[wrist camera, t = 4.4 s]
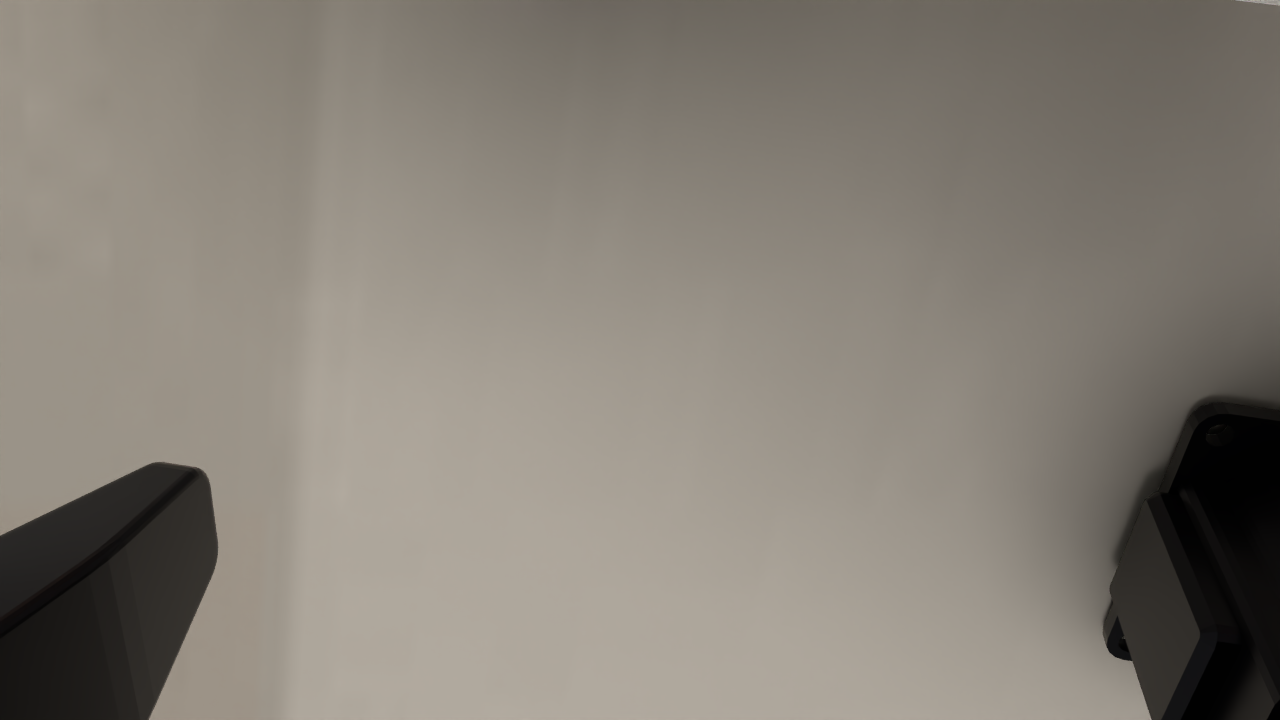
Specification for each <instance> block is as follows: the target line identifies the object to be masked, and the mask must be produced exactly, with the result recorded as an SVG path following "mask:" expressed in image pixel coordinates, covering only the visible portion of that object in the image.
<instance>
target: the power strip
mask: <svg viewBox="0 0 1280 720" xmlns="http://www.w3.org/2000/svg"><path fill="white" fill-rule="evenodd" d="M1237 1H1245V2H1254V3H1262V4H1270V5H1279V6H1280V0H1237Z"/></svg>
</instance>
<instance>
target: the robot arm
mask: <svg viewBox="0 0 1280 720" xmlns="http://www.w3.org/2000/svg"><path fill="white" fill-rule="evenodd" d="M1222 424H1225V425H1228V426H1227V427H1226V428H1225V430H1224V431H1222V432H1220V433H1218V434H1215V435H1208V434H1206V433H1207V432H1208V431H1209V429H1210V428H1212V427H1214V426H1216V425H1222ZM217 556H218V539H217V532H216V524H215V517H214V509H213V502H212V494H211V487H210V482H209V479H208V477H207V475H206V473H205V472H204V471H202V470H201V469H199V468H197V467H191V466H185V465H178V464H172V463H165V462H155V463H151V464H149V465H146V466H144V467H142V468H140V469H138V470H136V471H134V472H132V473H130V474H128V475H125V476H123V477H121V478H119V479H117V480H115V481H113V482H111V483H109V484H107V485H105V486H103V487H101V488H98V489H96V490H94V491H92V492H90V493H88V494H86V495H84V496H82V497H80V498H78V499H76V500H74V501H71V502H69V503H67V504H65V505H63V506H61V507H59V508H57V509H55V510H53V511H51V512H49V513H47V514H44V515H42V516H40V517H38V518H36V519H34V520H32V521H30V522H28V523H26V524H24V525H22V526H20V527H17V528H15V529H13V530H11V531H9V532H7V533H5V534H3V535H1V536H0V720H149V718H150V716H151V714H152V711H153V709H154V707H155V705H156V703H157V700H158V698H159V696H160V694H161V691H162V689H163V687H164V685H165V682H166V680H167V678H168V675H169V673H170V671H171V669H172V666H173V664H174V662H175V659H176V657H177V655H178V653H179V650H180V648H181V646H182V643H183V641H184V639H185V637H186V634H187V632H188V630H189V628H190V625H191V623H192V621H193V618H194V616H195V614H196V612H197V609H198V607H199V605H200V602H201V600H202V598H203V596H204V593H205V591H206V589H207V586H208V584H209V582H210V580H211V577H212V575H213V572H214V569H215V566H216V562H217ZM1110 594H1111V597H1112V600H1113V604H1112V607H1111V609H1110V612H1109V614H1108V617H1107V619H1106V622H1105V624H1104V626H1103V636H1104V639H1105V643H1106V646H1107V648H1108V650H1109V652H1110V653H1111V654H1112V655H1113V656H1115V657H1117V658H1120V659H1123V660H1128V661H1133V664H1134V667H1135V670H1136V673H1137V676H1138V679H1139V683H1140V686H1141V689H1142V692H1143V695H1144V698H1145V701H1146V704H1147V707H1148V710H1149V713H1150V716H1151V719H1152V720H1280V411H1279V410H1272V409H1265V408H1258V407H1251V406H1244V405H1237V404H1230V403H1210V404H1207V405H1204V406H1201V407H1200V408H1198V409H1197V410H1196V411H1194V412H1193V413H1192V415H1191V416H1190V417H1189V419H1188V421H1187V423H1186V425H1185V428H1184V430H1183V433H1182V435H1181V438H1180V440H1179V443H1178V445H1177V448H1176V450H1175V452H1174V455H1173V457H1172V460H1171V462H1170V465H1169V467H1168V470H1167V472H1166V474H1165V477H1164V479H1163V482H1162V484H1161V487H1160V489H1159V492H1155V493H1153V494H1152V495H1151V496H1150V497H1148V498H1147V499H1146V500H1145V501H1144V503H1143V505H1142V508H1141V510H1140V513H1139V515H1138V518H1137V520H1136V523H1135V525H1134V528H1133V530H1132V533H1131V535H1130V538H1129V540H1128V543H1127V545H1126V548H1125V550H1124V553H1123V555H1122V558H1121V560H1120V563H1119V565H1118V568H1117V570H1116V572H1115V575H1114V577H1113V580H1112V582H1111V585H1110ZM1122 637H1125V639H1122Z"/></svg>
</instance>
